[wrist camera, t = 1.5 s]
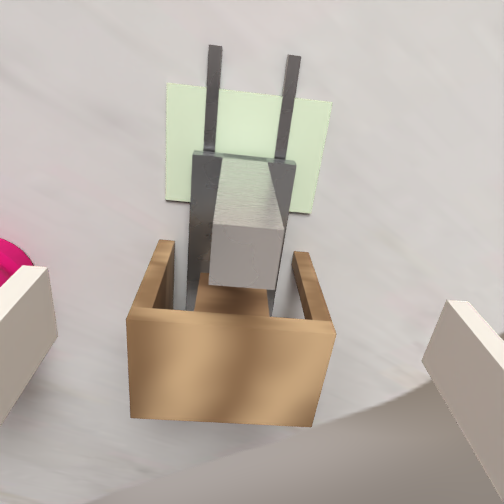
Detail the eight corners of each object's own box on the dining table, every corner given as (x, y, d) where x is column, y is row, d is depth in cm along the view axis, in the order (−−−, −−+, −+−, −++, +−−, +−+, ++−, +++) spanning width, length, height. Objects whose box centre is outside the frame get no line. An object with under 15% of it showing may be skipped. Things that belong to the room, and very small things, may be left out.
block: (197, 324, 32) (190, 368, 28) (200, 272, 30) (193, 311, 25) (257, 328, 33) (260, 372, 28) (265, 277, 30) (269, 317, 26)
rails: (189, 402, 39) (189, 406, 39) (209, 44, 24) (209, 44, 24) (247, 405, 40) (247, 409, 39) (300, 56, 25) (301, 56, 24)
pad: (166, 198, 29) (165, 199, 29) (167, 82, 25) (166, 83, 25) (310, 211, 30) (311, 213, 30) (331, 102, 26) (332, 102, 26)
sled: (185, 354, 35) (161, 490, 24) (194, 150, 27) (164, 219, 16) (262, 359, 36) (271, 494, 25) (294, 160, 27) (331, 234, 16)
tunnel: (159, 320, 34) (130, 418, 25) (159, 239, 31) (125, 319, 22) (292, 330, 35) (311, 427, 26) (308, 252, 32) (336, 334, 23)
